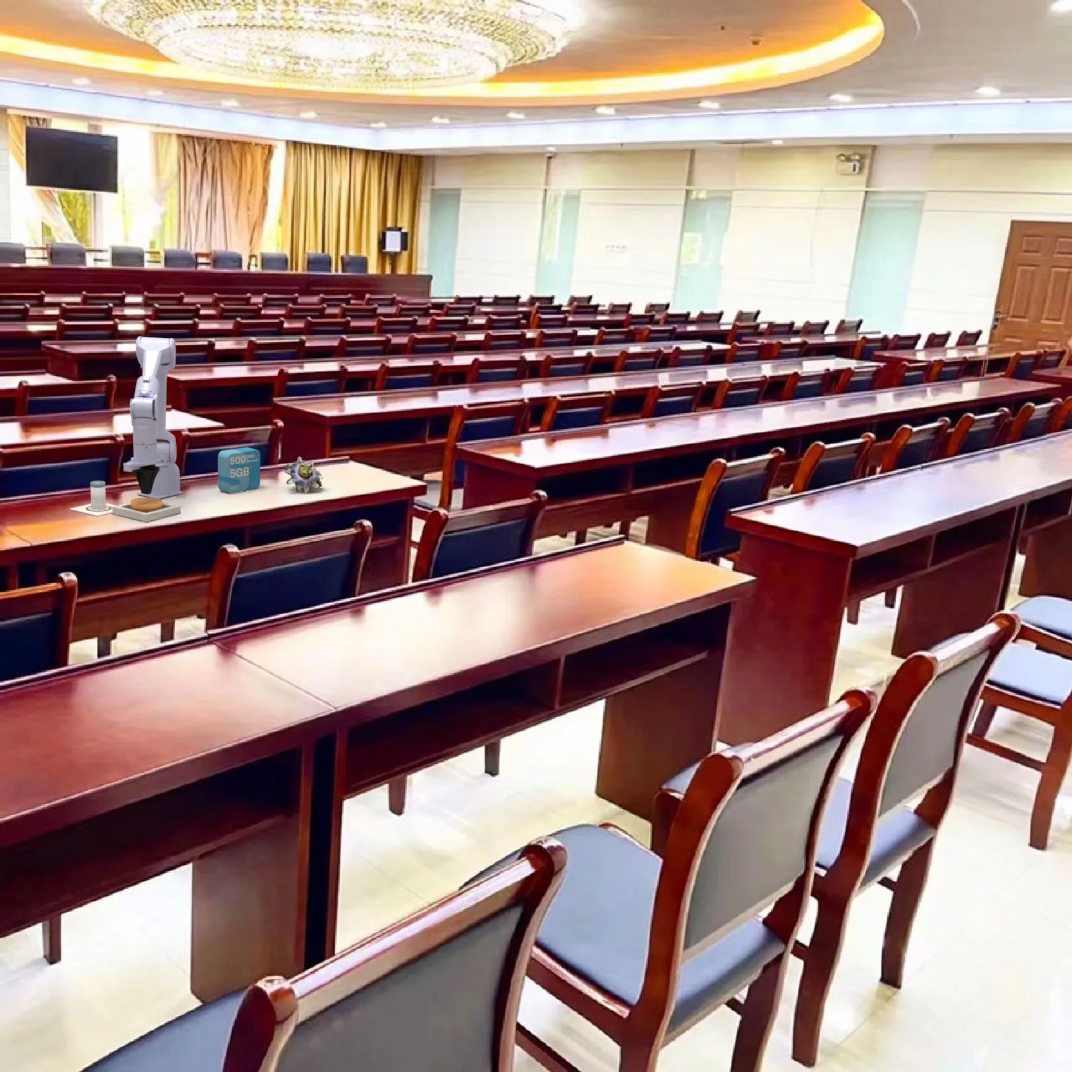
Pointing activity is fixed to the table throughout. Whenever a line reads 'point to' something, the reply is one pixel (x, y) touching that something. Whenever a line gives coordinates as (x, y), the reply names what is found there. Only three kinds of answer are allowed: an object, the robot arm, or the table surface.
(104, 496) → the white cylindrical piece
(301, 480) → the passion flower
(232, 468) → the data package
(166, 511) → the button box
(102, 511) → the paper sheet
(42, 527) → the table surface
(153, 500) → the button
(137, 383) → the robot arm
